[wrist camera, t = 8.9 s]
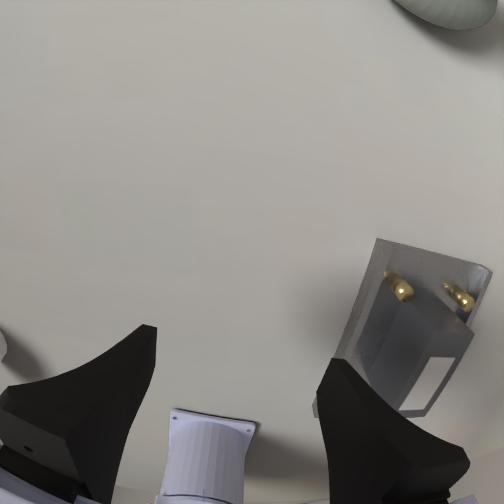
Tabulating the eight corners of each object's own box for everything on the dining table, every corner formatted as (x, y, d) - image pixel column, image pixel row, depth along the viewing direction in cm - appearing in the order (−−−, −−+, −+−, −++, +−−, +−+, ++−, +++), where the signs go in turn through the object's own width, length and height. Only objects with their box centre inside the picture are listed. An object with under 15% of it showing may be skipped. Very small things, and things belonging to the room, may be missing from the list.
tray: (410, 407, 27) (418, 424, 24) (312, 405, 26) (316, 426, 23) (482, 265, 21) (499, 277, 19) (376, 238, 21) (391, 250, 18)
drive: (404, 378, 24) (425, 417, 20) (366, 376, 24) (384, 419, 19) (442, 301, 22) (475, 334, 17) (404, 294, 22) (435, 331, 17)
